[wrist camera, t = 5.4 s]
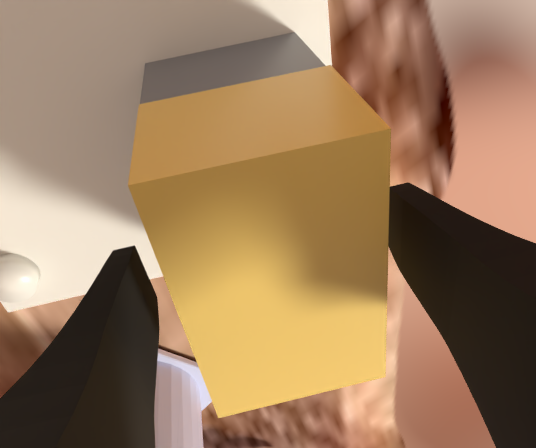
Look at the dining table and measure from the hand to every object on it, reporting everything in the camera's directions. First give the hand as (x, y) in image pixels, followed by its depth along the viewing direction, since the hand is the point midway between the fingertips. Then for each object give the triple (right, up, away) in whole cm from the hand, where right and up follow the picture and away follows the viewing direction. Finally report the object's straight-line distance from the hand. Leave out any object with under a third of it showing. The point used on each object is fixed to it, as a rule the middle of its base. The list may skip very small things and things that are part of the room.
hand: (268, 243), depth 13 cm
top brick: (0, +1, +1) cm, 2 cm away
